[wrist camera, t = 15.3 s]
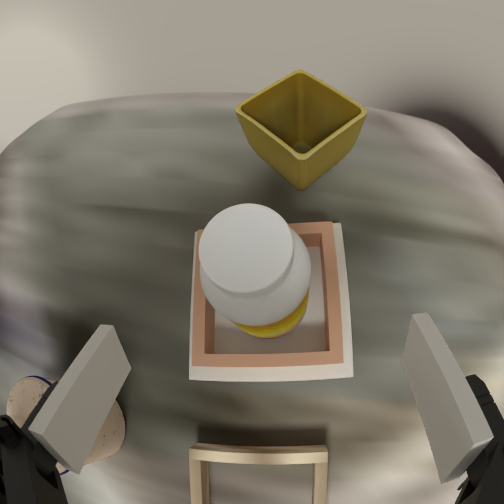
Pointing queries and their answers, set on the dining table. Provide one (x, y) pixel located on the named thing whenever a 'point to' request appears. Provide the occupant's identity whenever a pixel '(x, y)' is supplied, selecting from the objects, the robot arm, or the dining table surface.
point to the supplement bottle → (255, 270)
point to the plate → (292, 344)
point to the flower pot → (301, 126)
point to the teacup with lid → (27, 398)
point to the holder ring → (255, 455)
